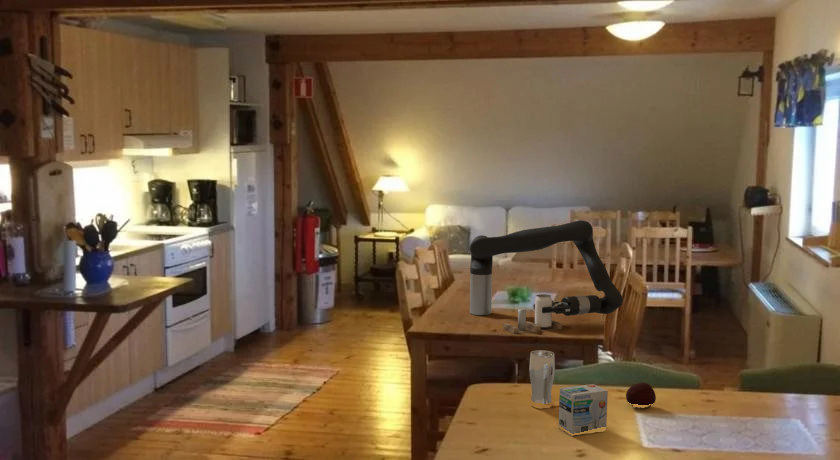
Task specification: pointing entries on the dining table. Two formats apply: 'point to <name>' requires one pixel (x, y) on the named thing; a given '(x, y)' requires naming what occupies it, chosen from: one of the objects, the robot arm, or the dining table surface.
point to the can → (541, 318)
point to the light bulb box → (582, 408)
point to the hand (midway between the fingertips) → (538, 308)
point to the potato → (641, 394)
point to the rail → (532, 327)
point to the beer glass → (541, 375)
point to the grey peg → (522, 319)
